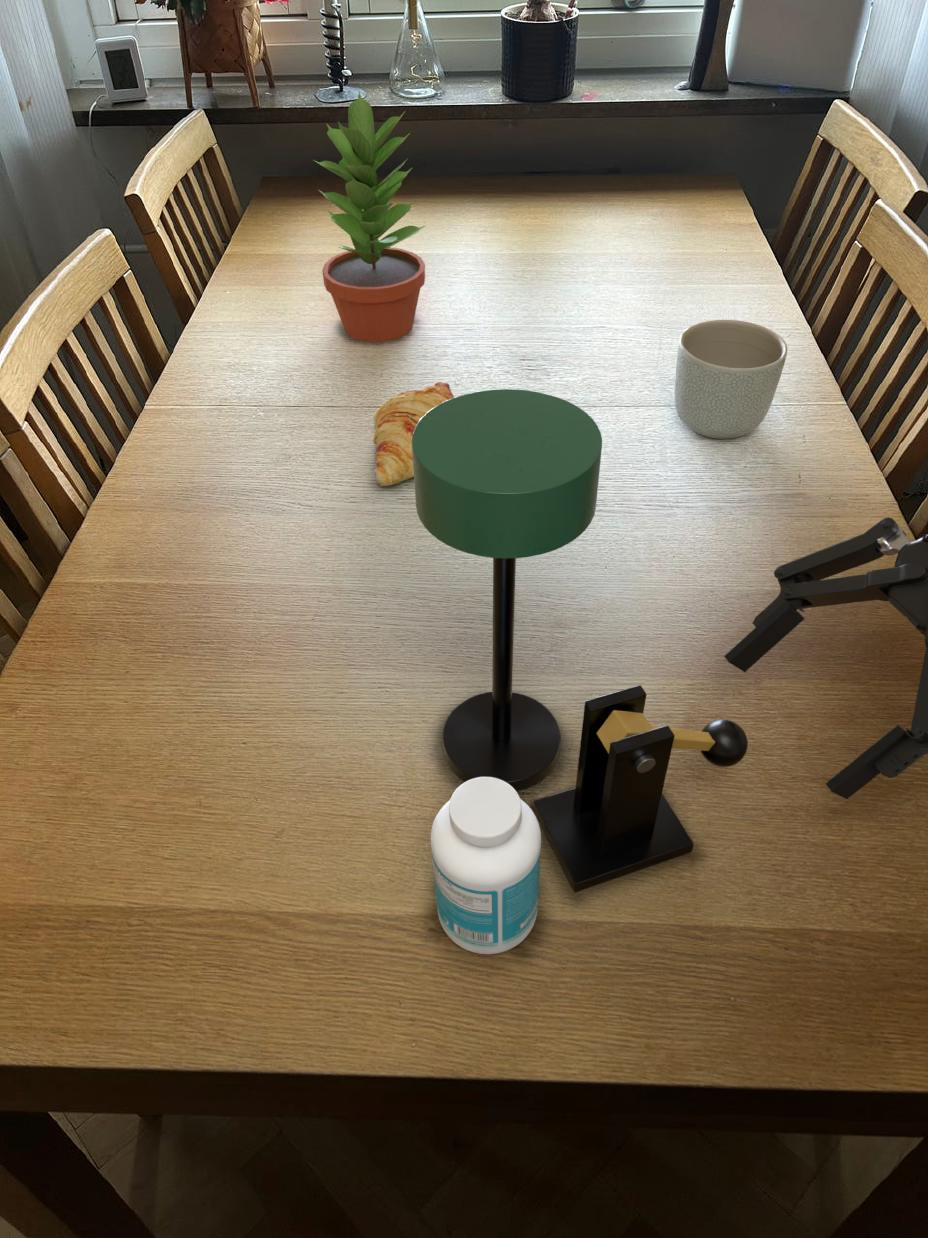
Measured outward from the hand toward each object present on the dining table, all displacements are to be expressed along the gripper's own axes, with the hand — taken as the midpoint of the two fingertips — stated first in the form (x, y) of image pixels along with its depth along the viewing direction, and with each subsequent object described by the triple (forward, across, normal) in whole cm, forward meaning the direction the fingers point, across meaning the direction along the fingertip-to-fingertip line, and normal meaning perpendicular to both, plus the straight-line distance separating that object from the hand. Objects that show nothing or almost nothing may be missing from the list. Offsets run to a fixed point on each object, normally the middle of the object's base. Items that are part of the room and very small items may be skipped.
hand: (781, 724), depth 72 cm
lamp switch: (+7, 0, +8) cm, 10 cm away
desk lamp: (+18, +11, +8) cm, 23 cm away
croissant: (+14, +58, +3) cm, 60 cm away
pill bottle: (+23, -3, +13) cm, 27 cm away
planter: (-13, +49, -23) cm, 56 cm away
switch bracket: (+15, 0, +5) cm, 16 cm away
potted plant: (+10, +90, -1) cm, 91 cm away
